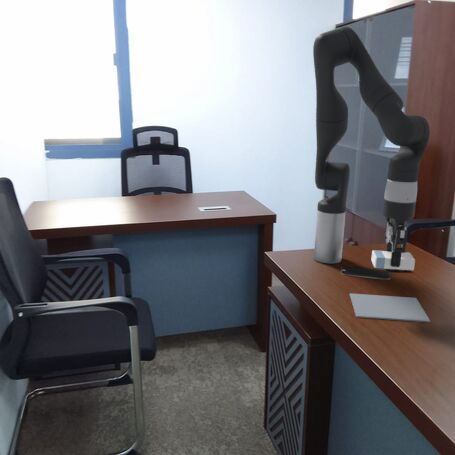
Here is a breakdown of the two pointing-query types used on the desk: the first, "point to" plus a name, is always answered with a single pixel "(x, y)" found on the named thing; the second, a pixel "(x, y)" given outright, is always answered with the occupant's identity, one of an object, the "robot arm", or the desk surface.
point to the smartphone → (365, 273)
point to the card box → (384, 259)
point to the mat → (388, 308)
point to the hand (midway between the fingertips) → (392, 261)
